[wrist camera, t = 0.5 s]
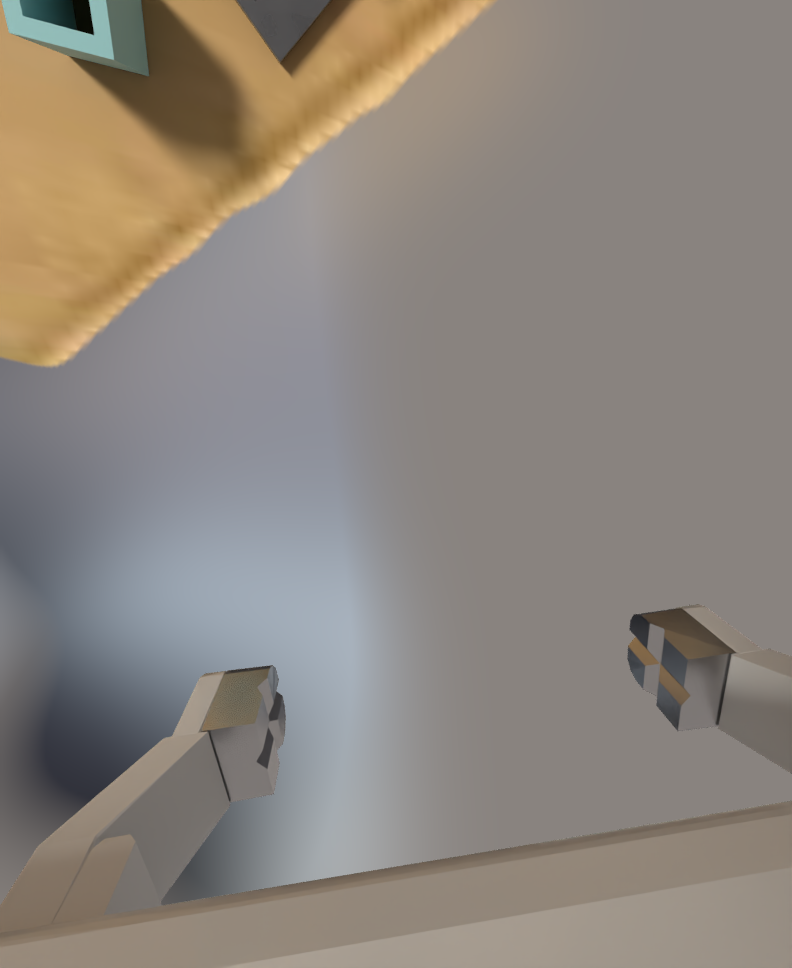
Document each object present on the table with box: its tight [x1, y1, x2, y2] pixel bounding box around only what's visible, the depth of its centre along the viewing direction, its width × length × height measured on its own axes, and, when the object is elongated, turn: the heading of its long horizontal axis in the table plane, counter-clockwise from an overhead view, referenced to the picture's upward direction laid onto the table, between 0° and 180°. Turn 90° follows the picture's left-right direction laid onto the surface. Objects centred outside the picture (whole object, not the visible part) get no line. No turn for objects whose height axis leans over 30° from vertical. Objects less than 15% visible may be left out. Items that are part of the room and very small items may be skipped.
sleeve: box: [2, 0, 149, 76], centre depth 31 cm, size 6×6×10 cm
